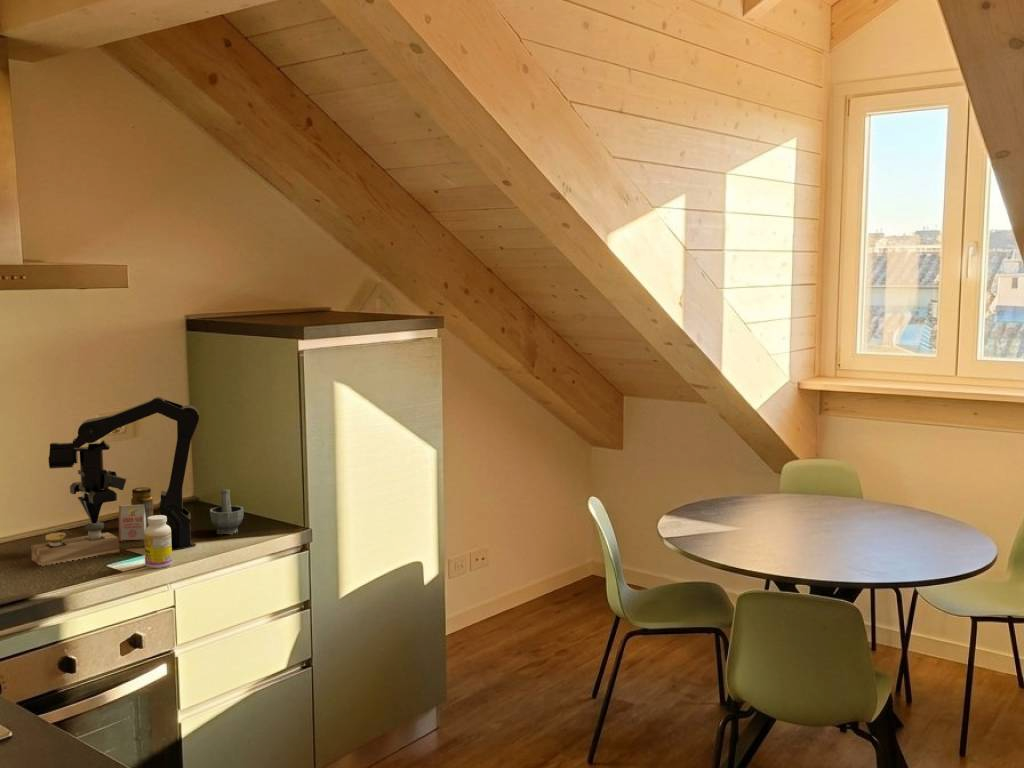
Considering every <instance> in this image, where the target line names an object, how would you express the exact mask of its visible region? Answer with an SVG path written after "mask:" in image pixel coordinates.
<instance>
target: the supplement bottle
mask: <svg viewBox="0 0 1024 768" xmlns="http://www.w3.org/2000/svg"><path fill="white" fill-rule="evenodd" d="M167 523H168V521H167V516H165V515H161V514H158V515H157V514H155V515H153V516H150V517H148V524H149V526H148V527H146V528H145V530H144V540H143V541H144V562H145V563H144V565H145V567H147V568H149V567H150V568H149V569H162V567H163V568H167V567H169V566H171V565H172V563H173V549H172V543H171V528H170V527H169V524H167Z"/></svg>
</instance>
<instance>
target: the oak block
mask: <svg viewBox="0 0 1024 768" xmlns="http://www.w3.org/2000/svg"><path fill="white" fill-rule="evenodd" d="M30 549H31V560H32V561H33V562H34V563H35V564H37V565H38V566H40V565H41V567H46V566H45V565H47V566H52V565H51V564H53V565H56V563H58V564H61V563H60V562H63V563H67V562H66V561H69V562H73V561H72V560H74V561H78V559H80V560H84V559H83V558H85V559H89V558H88V557H91V558H93V557H92V556H96V557H98V556H97V555H101V554H106V553H111V552H117V551H119V552H120V542H119V536H116V535H114V534H113V533H110V532H107V531H106V532H101V539H100V540H94V541H89V540H88V535H85V536H84V535H83V536H77V537H72V538H71V537H70V538H66V539H65V540H63V546H59V547H53V548H50V547H49V542H48V541H46V542H42V543H36V544H31V546H30Z"/></svg>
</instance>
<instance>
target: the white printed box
mask: <svg viewBox="0 0 1024 768" xmlns="http://www.w3.org/2000/svg"><path fill="white" fill-rule="evenodd" d="M145 528H146V515H145V507H144V505H131V504H127V505H125V504H124V505H118V538H119V541H121V542H123V541H122V540H141V541H144V530H145Z"/></svg>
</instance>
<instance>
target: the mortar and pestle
mask: <svg viewBox="0 0 1024 768" xmlns="http://www.w3.org/2000/svg"><path fill="white" fill-rule="evenodd" d="M220 494H221V506H220V505H219V506H215V507H212V508H210V509H209V515H210V519H211V520H210V521H211V523H212V525H213V526H214V527H215V528H216V534H217V535H220V534H221V535H220V536H223V535H222V534H230V535H234V534H233V533H235V534H237V533H239V529H238V527H239V526H240V525H241V524H242V522H243V519H244V513H245V512H244V511H245V510H244V506H240V505H232V503H231V495H230V494H231V490H230V489H228V488H227V489H222V490H220ZM236 532H237V533H236Z"/></svg>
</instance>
